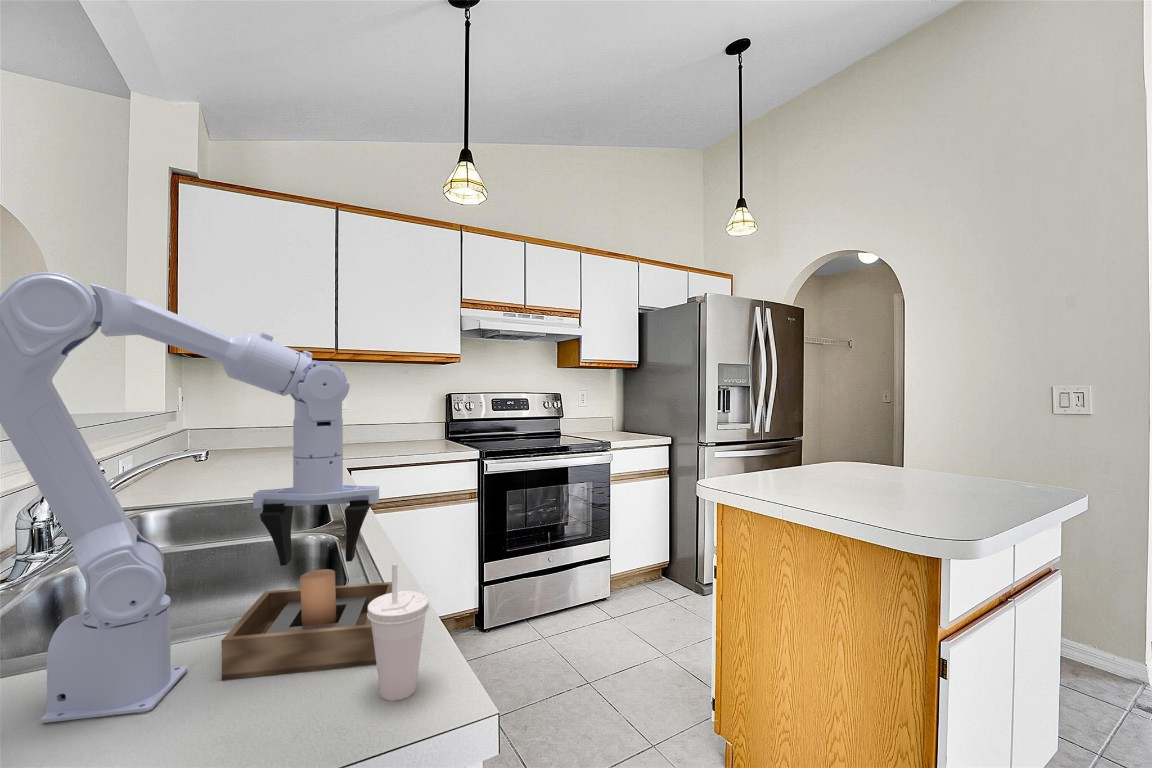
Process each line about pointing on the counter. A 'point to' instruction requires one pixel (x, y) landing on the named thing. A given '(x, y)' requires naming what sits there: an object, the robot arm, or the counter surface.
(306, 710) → the counter surface
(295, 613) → the socket plate
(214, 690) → the counter surface
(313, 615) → the peg
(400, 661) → the smoothie
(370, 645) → the socket box
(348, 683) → the counter surface
